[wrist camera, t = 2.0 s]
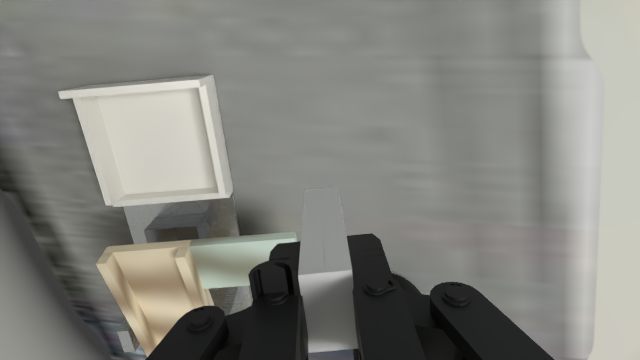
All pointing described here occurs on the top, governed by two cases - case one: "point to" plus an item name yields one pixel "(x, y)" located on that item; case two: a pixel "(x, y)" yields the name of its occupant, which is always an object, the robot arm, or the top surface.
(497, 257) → the top surface
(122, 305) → the wooden ramp
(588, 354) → the top surface
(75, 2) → the top surface
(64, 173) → the top surface
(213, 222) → the stand
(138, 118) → the dish
